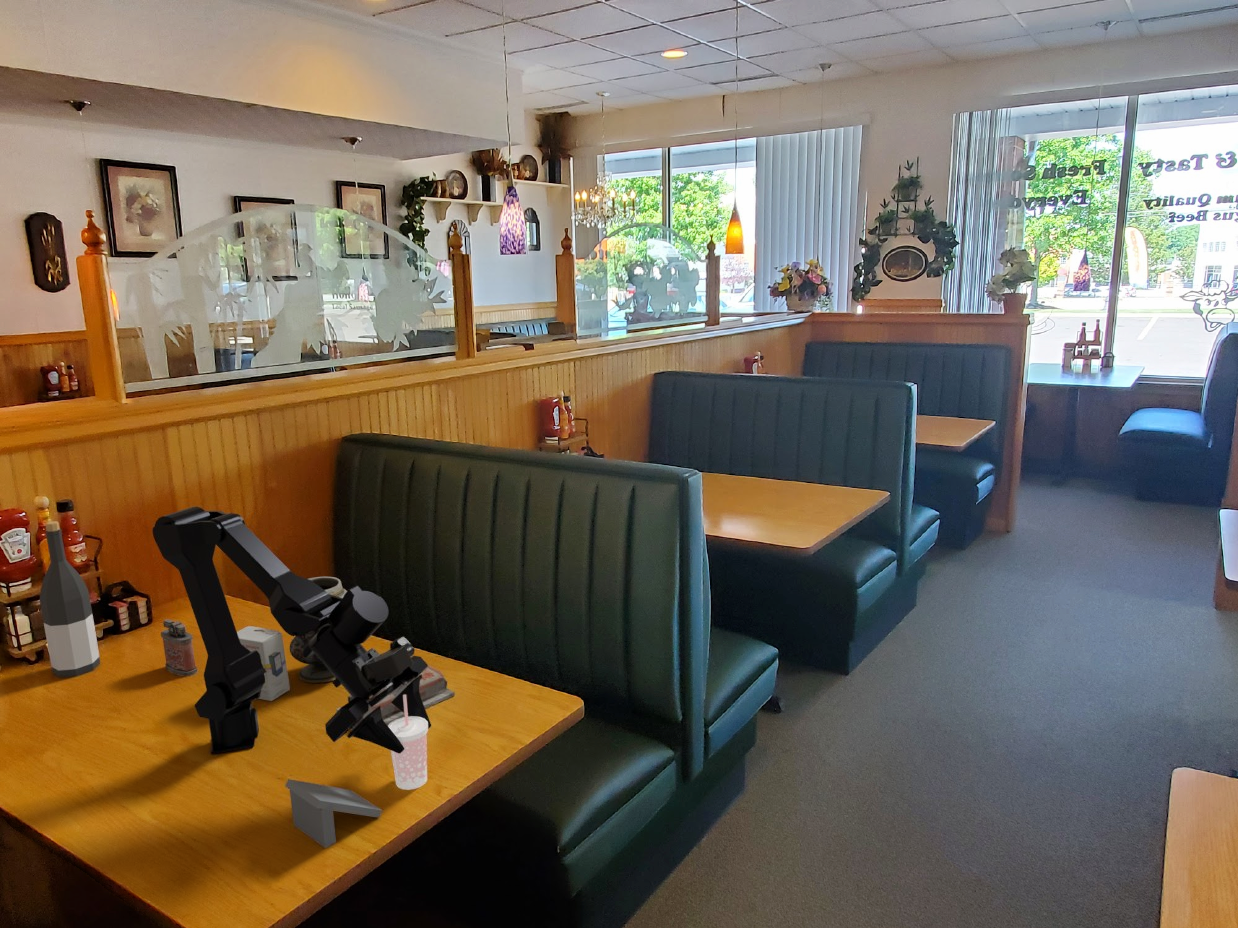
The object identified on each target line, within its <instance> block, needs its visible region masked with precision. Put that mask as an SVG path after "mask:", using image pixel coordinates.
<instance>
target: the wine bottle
mask: <svg viewBox="0 0 1238 928" xmlns="http://www.w3.org/2000/svg"><path fill="white" fill-rule="evenodd" d="M45 529H46V530H45V531H44V534H45V537H46V541H47V542H46V543H47V548H48V553H49V560H50V563H49V566H48V568H47V570H46V572H45V575H44V577H43V579H42V583H41V586H40V587H41V588H40V594H39V605H40V610H41V615H42V621H43V626H44V633H45V637H46V643H47V648H48V654H49V660H50V661H49V662H50V666H51V667H50V668H51V671H52V673H53V675H55V676H57V677H58V678H72V677H74V678H75V677H78V676H81V675H84V674H87V673H91V672H93V671H95V670H96V668H97V667H98V666H99V665H100V664H101V659H100V651H99V647H98V646H99V645H98V640H97V639H98V638H97V633H96V628H95V622H94V616H93V609H92V603H91V597H90V593H89V588H88V587H87V585H86V583H85V580H84V579H83V578H82V576H81V575H80V573H79V572H78V571H77V570H76V569H75V568H74V566H72V565H71V563H70V562H69V561H68V559H67V557H66V551H65V546H64V541H63V533H62V532H63V531H62V528H60V523H59V521H48V522H46V523H45Z"/></svg>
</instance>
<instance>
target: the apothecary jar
mask: <svg viewBox="0 0 1238 928" xmlns="http://www.w3.org/2000/svg"><path fill="white" fill-rule="evenodd" d="M308 579H309V580H311V581H313V582H314V583H316V584H317V585H318V586H320V587H321V588H322V589H324V590H325V591H326V592H327V593H328V594H330V595H334V596H337V597H340V598H343V597H344V595H345V593H346V592H347V591H348V590H346V589H345V588H343V585H342V581H341V579H339V578H338V577H333V576H317V577H310V578H308ZM328 625H330V624H329V622H328V623H327V624H325V625H323V626H321V627H320V628H318V629H316V630H314V631H310V632H309V633H307V634H305V635H302V636H293V638H292V639H291V641H290V643H289V652H290V653H289V654H290V655H291V656H292V658H293V659H295V660H297V662H299V663H303V664H305V666H304V667H302V668H301V669H300V670H299V672H298V678H299V679H300V680H301V681H302V682H306V683H309V684H323V683H329V682H333V681H334V680H335V679H336V677H335V676H334V675H333V674H332V673H331V671H330V670H329V669H328V668H327V667H326V666H325V664H324V663H323V662H322V661H321V660H320V658H319V657H318V656H317V655H316V654H315V653H313V654H312V655H310V656H308V657H307V658H304V657H303V649H304V639H306V638H307V637H309V636H311V635H313V634H314V635H316V634H317V633H318V631H319V630H320V629H321V628H323V627H325V626H328Z"/></svg>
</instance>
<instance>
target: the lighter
mask: <svg viewBox="0 0 1238 928" xmlns="http://www.w3.org/2000/svg"><path fill="white" fill-rule="evenodd" d="M162 625H163V627H164V628H166V629H164V630H162V631H161V632H160V637H161V638H162V644H163V651H164V656H165V657H164V658H165V664H164V665H165V669H166V670H167V671H168V672H170V673H171V674H175V675H178V676H182V677H190V676H193V675H196V674H197V673H198V667H197V666H196V660H195V654H194V647H193V640H194V638H193V634H191V633H190V632H188V631H187V628H186V624H183V623H182V622H181V621H180V620H177V621H174V620H171V619H169V618H168V619H164V620H163V624H162Z"/></svg>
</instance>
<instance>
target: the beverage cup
mask: <svg viewBox="0 0 1238 928" xmlns="http://www.w3.org/2000/svg"><path fill="white" fill-rule="evenodd" d="M403 702H404V714H405V717H402V718H399V719H396V720H394V721H393V722H391V723H389V724H387V726H388V727H389V728H390V729H391V731H392V732H393V733H394V734H395V736H396V737H397V738H398V739H399V741H400V742H401V744H402V745H403V747H404V751H403V752H401V753H400V754H399V753H396V752H394V751H391V750H390V754H391V755H390V756H391V759H392V760H391V761H392V765H393V766H392V767H393V771H394V779H395V785H396V786H397V787H398V788H399V789H401V790H408V791H410V790H416V789H418V788H421V787H422V786H423V785H425V784H426V783H427V781H428V743H427V741H428V740H427V739H428V738H427V735H428V734H427V733H428V732H429V729H428V721H427V720H426V719H425V718H422V717H418V716H408V710H407V699H406V694H405V695H403Z"/></svg>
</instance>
